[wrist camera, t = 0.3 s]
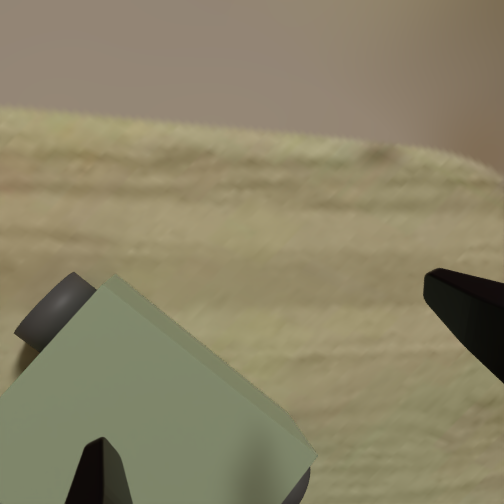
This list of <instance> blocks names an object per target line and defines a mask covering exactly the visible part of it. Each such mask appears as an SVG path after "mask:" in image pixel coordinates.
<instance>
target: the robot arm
mask: <svg viewBox="0 0 504 504" xmlns="http://www.w3.org/2000/svg"><path fill="white" fill-rule="evenodd" d="M423 296H424V299H425V301H426V303H427V304H428V305H429V307H430V308H431V309H432V310H433V311H434V312H435V314H436V315H437V316H438V317H439V318H440V319H441V320H442V322H443V323H444V324H445V325H446V326H447V327H448V328H449V330H450V331H451V332H452V333H453V334H454V335H455V337H456V338H457V339H458V340H459V341H460V342H461V343H462V344H463V345H464V346H465V347H466V348H467V349H468V350H469V351H470V352H471V353H472V354H473V355H474V356H475V357H476V358H477V359H478V360H479V361H480V362H481V363H482V364H483V365H485V366H486V367H487V368H488V369H489V370H490V371H491V372H492V373H493V374H494V375H495V376H496V377H497V378H498V379H499V380H500V381H501V382H502V383H504V283H501V282H496V281H492V280H488V279H484V278H480V277H476V276H472V275H468V274H463V273H459V272H455V271H451V270H447V269H443V268H437V269H434V270H432V271H430V272H428V273H427V274H426V275H425V277H424V290H423ZM64 504H133V502H132V498H131V494H130V490H129V486H128V482H127V478H126V474H125V470H124V466H123V463H122V459H121V457H120V455H119V453H118V452H117V451H116V449H115V448H114V447H113V446H112V445H111V443H110V442H109V441H108V440H107V439H106V438H105V437H99V438H97V439H95V440H93V441H91V442H89V443H88V444H86V446H85V447H84V449H83V452H82V455H81V458H80V461H79V463H78V466H77V469H76V472H75V475H74V478H73V481H72V483H71V486H70V489H69V492H68V495H67V498H66V501H65V503H64Z"/></svg>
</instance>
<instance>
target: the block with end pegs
mask: <svg viewBox="0 0 504 504" xmlns="http://www.w3.org/2000/svg"><path fill="white" fill-rule="evenodd" d="M14 334H15V335H17V336H18V337H19V338H21V339H22V340H23V341H25V342H26V343H28V344H29V345H30V346H32V347H33V348H34V349H36V350H37V351H39V352H40V354H39V355H38V356H37V357H36V358H35V359H34V360H33V362H32V363H31V364H30V365H29V366H28V367H27V368H26V369H25V370H24V372H23V373H22V374H21V375H20V376H19V377H18V378H17V379H16V380H15V381H14V383H13V384H12V385H11V386H10V387H9V388H8V389H7V390H6V391H5V393H4V394H3V395H2V396H1V397H0V504H64V503H65V501H66V498H67V495H68V492H69V489H70V486H71V483H72V481H73V478H74V475H75V472H76V469H77V466H78V463H79V461H80V458H81V455H82V452H83V449H84V447H85V446H86V444H88V443H89V442H91V441H93V440H95V439H97V438H99V437H105V438H106V439H107V440H108V441H109V442H110V443H111V445H112V446H113V447H114V448H115V449H116V451H117V452H118V453H119V455H120V457H121V459H122V463H123V466H124V470H125V474H126V478H127V482H128V486H129V490H130V494H131V498H132V502H133V504H299V503H300V502H301V500H302V498H303V496H304V494H305V492H306V489H307V486H308V483H309V478H310V466H311V464H312V463H313V462H314V460H315V459H316V458H317V456H318V455H317V453H316V452H315V450H314V449H313V447H312V446H311V445H310V443H309V442H308V440H307V439H306V438H305V436H304V435H303V433H302V432H301V431H300V429H299V428H298V426H297V425H296V424H295V422H294V421H293V419H292V418H291V416H290V415H289V414H288V413H287V412H286V411H285V410H284V409H282V408H281V407H280V406H279V405H277V404H276V403H275V402H274V401H272V400H271V399H270V398H269V397H268V396H266V395H265V394H264V393H263V392H261V391H260V390H259V389H258V388H256V387H255V386H254V385H253V384H251V383H250V382H249V381H248V380H246V379H245V378H244V377H243V376H242V375H240V374H239V373H238V372H237V371H235V370H234V369H233V368H232V367H230V366H229V365H228V364H227V363H225V362H224V361H223V360H222V359H221V358H219V357H218V356H217V355H216V354H214V353H213V352H212V351H211V350H209V349H208V348H207V347H206V346H204V345H203V344H202V343H201V342H199V341H198V340H197V339H196V338H195V337H193V336H192V335H191V334H190V333H188V332H187V331H186V330H185V329H183V328H182V327H181V326H180V325H178V324H177V323H176V322H175V321H174V320H172V319H171V318H170V317H169V316H167V315H166V314H165V313H164V312H162V311H161V310H160V309H159V308H157V307H156V306H155V305H154V304H152V303H151V302H150V301H149V300H148V299H146V298H145V297H144V296H143V295H141V294H140V293H139V292H138V291H136V290H135V289H134V288H133V287H131V286H130V285H129V284H128V283H127V282H125V281H124V280H123V279H122V278H120V277H119V276H118V275H117V274H115V275H113V276H112V277H111V278H110V279H108V280H107V281H106V282H105V283H103V284H102V285H101V286H100V288H99V289H98V290H96V289H95V288H94V287H93V286H91V285H90V284H89V283H87V282H86V281H85V280H84V279H82V278H81V277H80V276H79V275H77V274H76V273H75V272H72V273H71V274H69V275H68V276H67V277H65V278H64V279H63V280H62V281H61V282H60V283H59V284H57V285H56V286H55V287H54V288H53V289H52V290H51V291H50V292H49V293H48V294H47V295H46V296H45V297H44V298H43V299H42V300H41V301H40V302H39V303H38V304H37V305H36V306H35V307H34V308H33V310H32V311H31V312H30V313H29V314H28V315H27V316H26V317H25V319H24V320H23V321H22V322H21V323H20V325H19V326H18V327H17V329H16V330H15V332H14Z"/></svg>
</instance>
